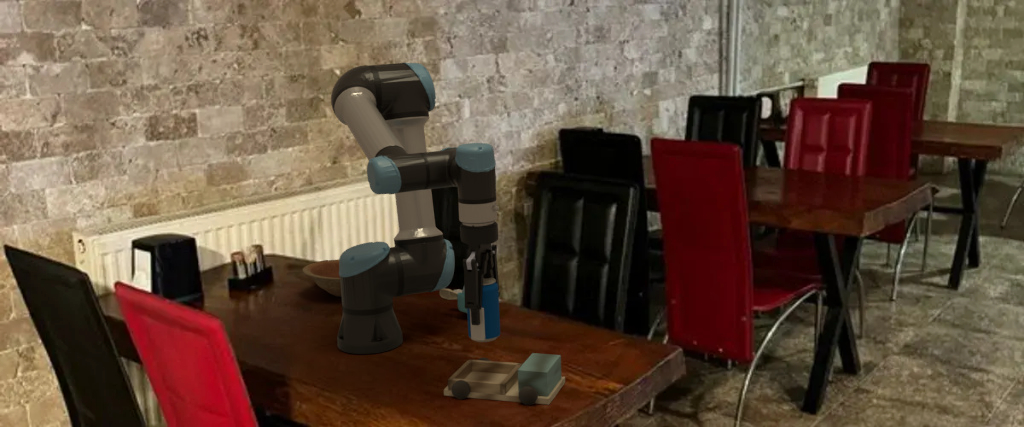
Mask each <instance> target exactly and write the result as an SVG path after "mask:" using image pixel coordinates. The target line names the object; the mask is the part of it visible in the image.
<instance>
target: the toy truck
mask: <svg viewBox="0 0 1024 427" xmlns="http://www.w3.org/2000/svg"><path fill="white" fill-rule="evenodd" d="M565 383H566V376H562V356H561V354H549V353H537V352H536V353H534V352H532V353H531V354H530V355H529V357H527V358H526V360H525V361H524V362H523V363H520V362H509V361H493V360H490V359H488V358H486V357H480V358H478V359H467V360H466V362H465V363H463V364H462V365H461V366H460V368H458V369H457V370H456V371H455V372H454V373H453V374H452V375H450V377H449V378H448V379H447V386H446V387H445V388H444V389H443V396H444V397H445V396H447V397H455V398H456V400H457V399H458V400H465V399H466V398H467V399H469V398H470V399H478V400H479V399H480V400H493V401H504V402H516V403H522V404H523V405H525V406H532V405H534V404H538V405H549V406H550V404H551V403H552V401H553V400H554V399H555V397H556V396H557V395H558V394H559V392H560V390H561V389H562V387H563V386H564V385H565Z"/></svg>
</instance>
